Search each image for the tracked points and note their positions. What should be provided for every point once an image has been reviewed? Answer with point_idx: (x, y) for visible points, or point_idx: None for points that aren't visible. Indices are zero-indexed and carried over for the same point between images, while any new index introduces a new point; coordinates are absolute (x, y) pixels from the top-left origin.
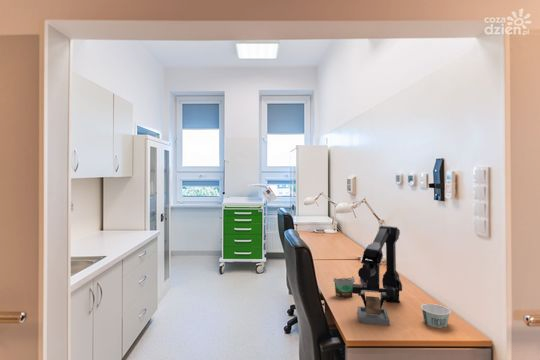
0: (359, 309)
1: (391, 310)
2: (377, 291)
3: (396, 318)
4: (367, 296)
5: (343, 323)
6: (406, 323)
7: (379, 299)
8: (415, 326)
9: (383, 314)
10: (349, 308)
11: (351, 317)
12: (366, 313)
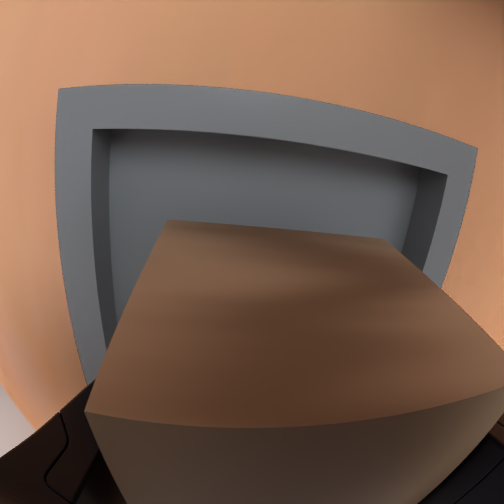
0: (74, 222)
1: (495, 64)
2: None
3: (477, 249)
4: (161, 446)
5: (17, 388)
6: (486, 323)
7: (439, 481)
8: (500, 347)
9: (405, 216)
10: (14, 44)
11: (33, 292)
12: (186, 215)
